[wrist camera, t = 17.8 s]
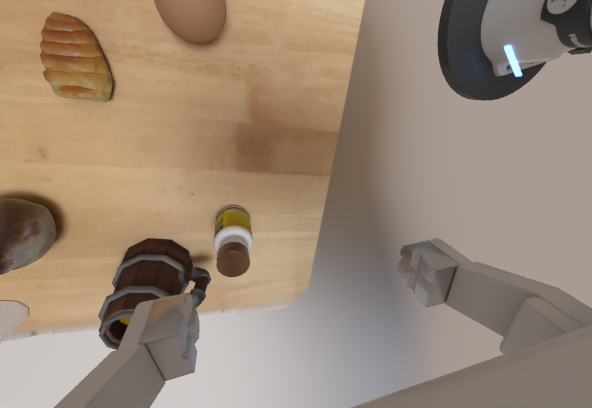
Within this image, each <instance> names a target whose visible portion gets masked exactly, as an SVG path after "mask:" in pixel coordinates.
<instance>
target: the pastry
mask: <svg viewBox="0 0 592 408" xmlns="http://www.w3.org/2000/svg"><path fill="white" fill-rule="evenodd" d="M41 34H42V37H43V40H42V41H41V43H40V47H41V49H42V53H41V54H40V57H41V60H42V63H43V64H44V66H45V68H46V70H45V71H44V72H43V75H44V77H45V79H46V80H47V81H48V82H49V83H50V84H51V86H52V88H53V91H54V92H55V94H56V95H58V96H60V97H65V98H68V97H70V98H76V99H90V100H92V99H93V100H95V101H101V102H105V101H108V100H109V98H110V96H111V91H112V86H113V83H112V77H111V73H110V71H109V69H108V65H107V63H106V60H105V58H104V56H103V53H102V51H101V49H100V47H99V45H98V43H97V41H96V39H95V37H94V35H93V33H92V32H91V31H90V30H89V28H88V27H87V26H86V25H85V24H84V23H83V22H82V21H81V20H80V19H78V18H76V17H73V16H70V15H65V14H61V13H58V12H53V13H52V14H51V15H50V16H49V17H48V18H47V19H46V22H45V26H44V28H43V29H42V31H41Z"/></svg>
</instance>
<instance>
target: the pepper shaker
mask: <svg viewBox="0 0 592 408" xmlns="http://www.w3.org/2000/svg"><path fill="white" fill-rule="evenodd" d="M26 318H28V307H26V306H24V305H23V304H21V303H19V302H18V301H0V343H1V342H2V341H3V340H4V339H5V338H6V337H7V336H8V335H9V334H11V333H12V332H13V331H14V330H15V329H16V328H17V327H18V326H19V325H20V324H21V323H22V322H23V321H24V320H25V319H26Z"/></svg>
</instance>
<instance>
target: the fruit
mask: <svg viewBox="0 0 592 408" xmlns="http://www.w3.org/2000/svg"><path fill="white" fill-rule="evenodd" d="M55 237H56V228H55V222H54V219H53V217H52V215H51V213H50V212H49V210H48V209H47V208H46V207H45V206H43V205H40V204H37V203H33V202H30V201H27V200H23V199H17V198H7V199H0V275H1V274H4V273H7V272H9V271H11V270H15V269H19V268H22V267H24V266H27V265H29V264H31V263H33V262H35V261H37V260H38V259H40V258H41V257H42V256H43V255H44V254H45V253H46V252H48V251H49V249H50V248H51V247H52V245H53V243H54V241H55Z"/></svg>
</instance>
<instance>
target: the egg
mask: <svg viewBox="0 0 592 408" xmlns="http://www.w3.org/2000/svg"><path fill="white" fill-rule="evenodd" d="M154 1H155V4H156V8H157V10H158V12H159V14H160V15H161V17H162V19H163V20H164V22H165V23H166V24H167V26H168V27H169V28H170V29H171V30H172V31H173V32H174V33H175V34H176V35H178V36H179V37H181V38H182V39H185V40H187V41H189V42H193V43H207V42H209V41H211V40H213V39H215V38H216V37H217V36H218V35H219V33H220V32H221V30H222V29H223V27H224V23H225V20H226V2H225V0H154Z"/></svg>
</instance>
